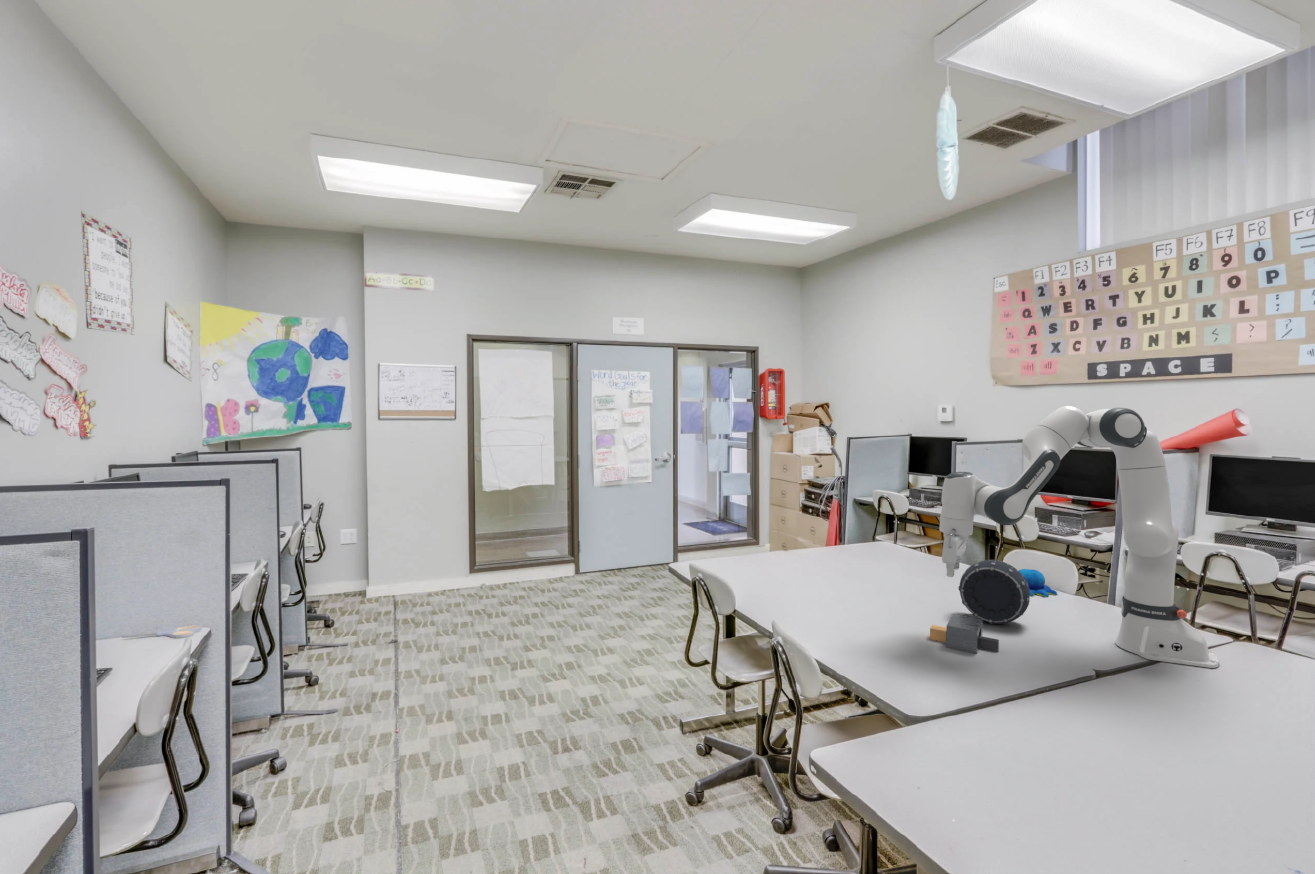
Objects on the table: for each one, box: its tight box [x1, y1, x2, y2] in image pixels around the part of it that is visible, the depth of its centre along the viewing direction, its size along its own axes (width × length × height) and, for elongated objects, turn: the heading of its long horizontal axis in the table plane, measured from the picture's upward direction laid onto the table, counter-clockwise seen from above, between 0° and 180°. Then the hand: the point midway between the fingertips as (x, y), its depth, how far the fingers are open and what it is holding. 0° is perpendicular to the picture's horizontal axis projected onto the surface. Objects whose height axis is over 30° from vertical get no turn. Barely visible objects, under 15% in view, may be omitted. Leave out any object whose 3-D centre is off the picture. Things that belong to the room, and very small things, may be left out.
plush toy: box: [1018, 568, 1058, 598], centre depth 231 cm, size 17×17×8 cm
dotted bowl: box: [958, 559, 1030, 625], centre depth 196 cm, size 11×20×20 cm, turn 53°
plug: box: [929, 624, 1000, 653], centre depth 178 cm, size 18×4×3 cm, turn 56°
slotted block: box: [945, 613, 984, 654], centre depth 178 cm, size 8×12×6 cm, turn 146°
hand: (952, 572), depth 179 cm, fingers open, 8 cm apart
